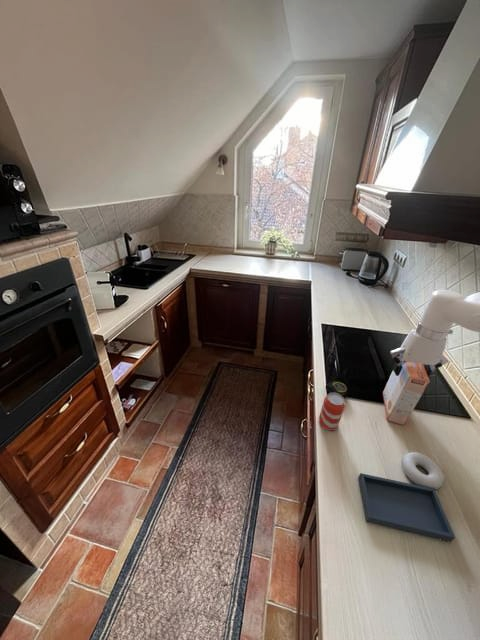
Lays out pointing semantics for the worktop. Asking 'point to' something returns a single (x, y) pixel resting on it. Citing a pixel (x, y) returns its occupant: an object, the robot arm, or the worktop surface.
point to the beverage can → (331, 411)
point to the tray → (404, 507)
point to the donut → (434, 472)
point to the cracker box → (404, 391)
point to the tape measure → (337, 388)
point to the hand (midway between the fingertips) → (409, 374)
